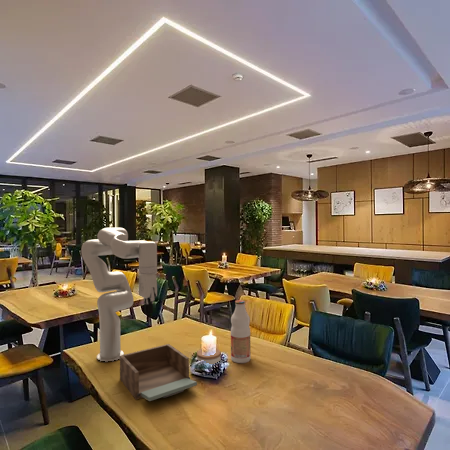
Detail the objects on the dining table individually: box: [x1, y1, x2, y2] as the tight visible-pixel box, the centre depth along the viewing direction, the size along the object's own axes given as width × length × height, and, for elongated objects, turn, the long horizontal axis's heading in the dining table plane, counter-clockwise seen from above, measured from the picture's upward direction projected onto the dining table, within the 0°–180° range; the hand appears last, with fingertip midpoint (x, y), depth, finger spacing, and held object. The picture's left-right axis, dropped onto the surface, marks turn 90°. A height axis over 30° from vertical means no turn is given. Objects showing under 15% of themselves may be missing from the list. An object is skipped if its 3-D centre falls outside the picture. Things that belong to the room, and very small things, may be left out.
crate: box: [119, 343, 191, 400], centre depth 133 cm, size 21×22×10 cm
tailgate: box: [141, 378, 198, 402], centre depth 122 cm, size 2×19×8 cm
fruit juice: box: [230, 299, 252, 364], centre depth 154 cm, size 9×9×28 cm
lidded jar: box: [196, 348, 222, 364], centre depth 144 cm, size 11×11×9 cm
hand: (148, 312), depth 138 cm, fingers closed
